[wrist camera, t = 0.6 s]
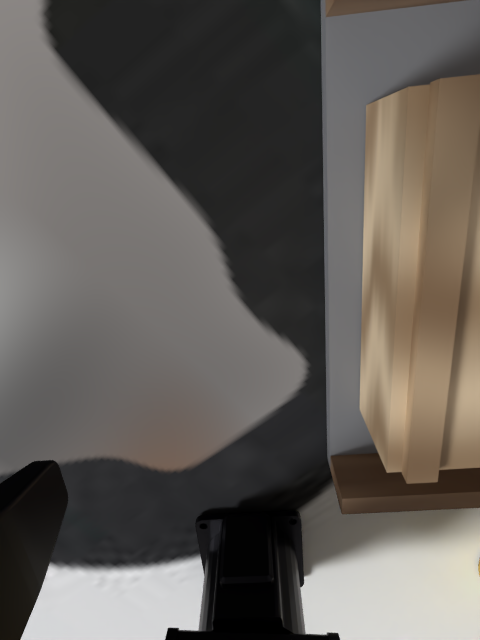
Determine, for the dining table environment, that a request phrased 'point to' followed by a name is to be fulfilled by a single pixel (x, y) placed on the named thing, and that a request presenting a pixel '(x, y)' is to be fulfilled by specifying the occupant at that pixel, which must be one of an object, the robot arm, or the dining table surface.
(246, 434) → the dining table surface
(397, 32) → the bay
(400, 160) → the brown wooden box
